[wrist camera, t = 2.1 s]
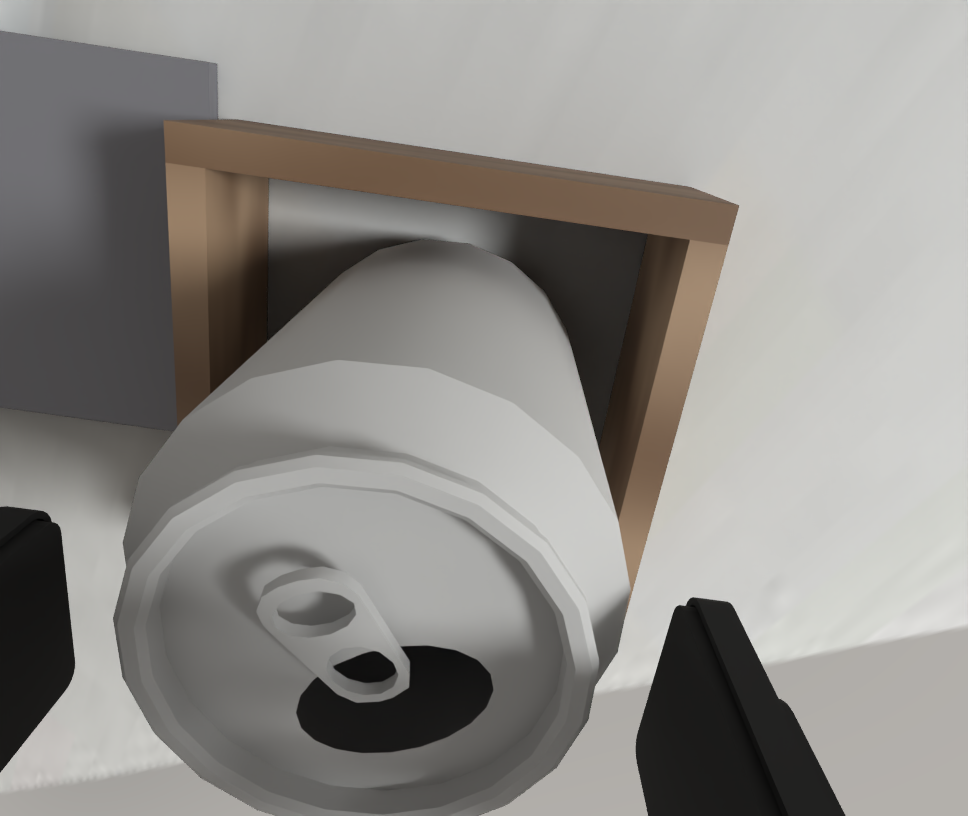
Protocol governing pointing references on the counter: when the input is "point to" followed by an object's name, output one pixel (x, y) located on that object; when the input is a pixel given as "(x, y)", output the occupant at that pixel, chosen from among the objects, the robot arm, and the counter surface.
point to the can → (380, 551)
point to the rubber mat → (89, 227)
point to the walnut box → (456, 181)
